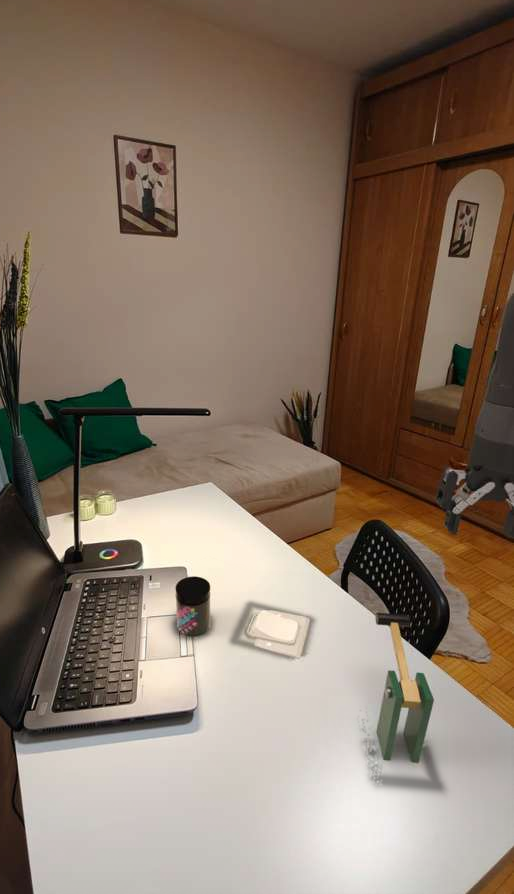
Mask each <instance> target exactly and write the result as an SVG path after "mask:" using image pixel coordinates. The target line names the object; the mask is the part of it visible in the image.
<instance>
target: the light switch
mask: <svg viewBox="0 0 514 894" xmlns="http://www.w3.org/2000/svg"><path fill="white" fill-rule="evenodd" d="M310 621H311V619H310V618H308V617H307V616H303V615H298V614H293V613H288V612H283V611H278V610H271V609H268V610H266V609H262V610H261V611H259V612H255V613H254V614H253V615H252V617H251V620H250V622H249V625H248V628H247V629H246V636H248V637H249V638H253V639H255V642H254V644H253V646H255V647H257V648H261V649H263V650H266V651H270V652H273V653H277V654H280V655H284V656H287V657H291V658H295V659H301V658H302V654H303V650H304V647H305V646H304V645H305V642H306V637H307V634H308V631H309V625H310V623H311V622H310Z"/></svg>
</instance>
